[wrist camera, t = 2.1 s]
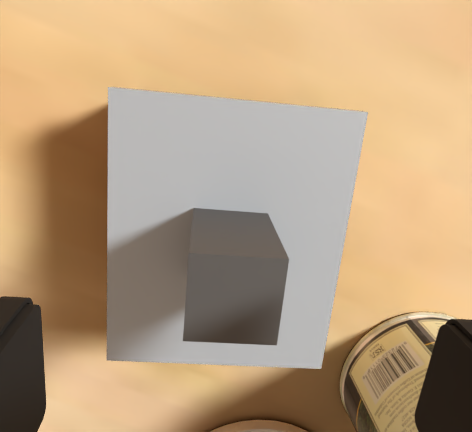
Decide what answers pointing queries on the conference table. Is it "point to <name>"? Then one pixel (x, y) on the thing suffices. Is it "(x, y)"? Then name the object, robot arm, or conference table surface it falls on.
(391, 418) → the coffee can
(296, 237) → the lid
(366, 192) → the conference table surface
